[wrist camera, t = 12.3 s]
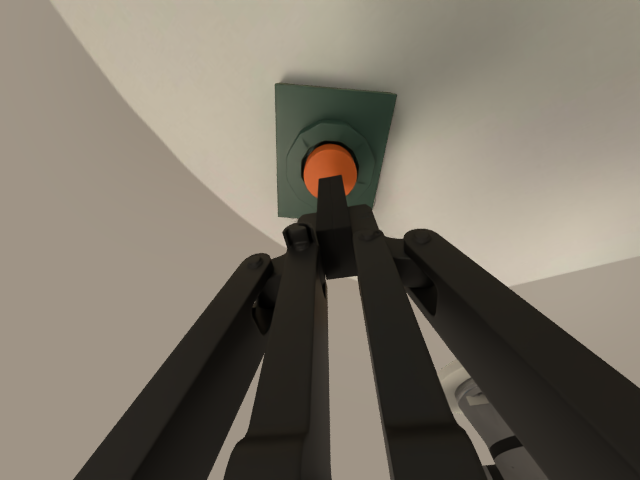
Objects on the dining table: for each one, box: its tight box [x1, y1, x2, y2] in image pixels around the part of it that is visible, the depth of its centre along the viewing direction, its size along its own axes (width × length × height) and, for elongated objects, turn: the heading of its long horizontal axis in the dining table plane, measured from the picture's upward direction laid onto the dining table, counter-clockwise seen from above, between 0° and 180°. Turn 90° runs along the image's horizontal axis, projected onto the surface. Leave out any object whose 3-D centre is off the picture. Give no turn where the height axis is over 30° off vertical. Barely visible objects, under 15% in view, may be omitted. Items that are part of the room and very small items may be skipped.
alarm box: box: [275, 83, 397, 218], centre depth 21 cm, size 11×9×4 cm
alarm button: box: [304, 144, 357, 198], centre depth 19 cm, size 4×4×2 cm
